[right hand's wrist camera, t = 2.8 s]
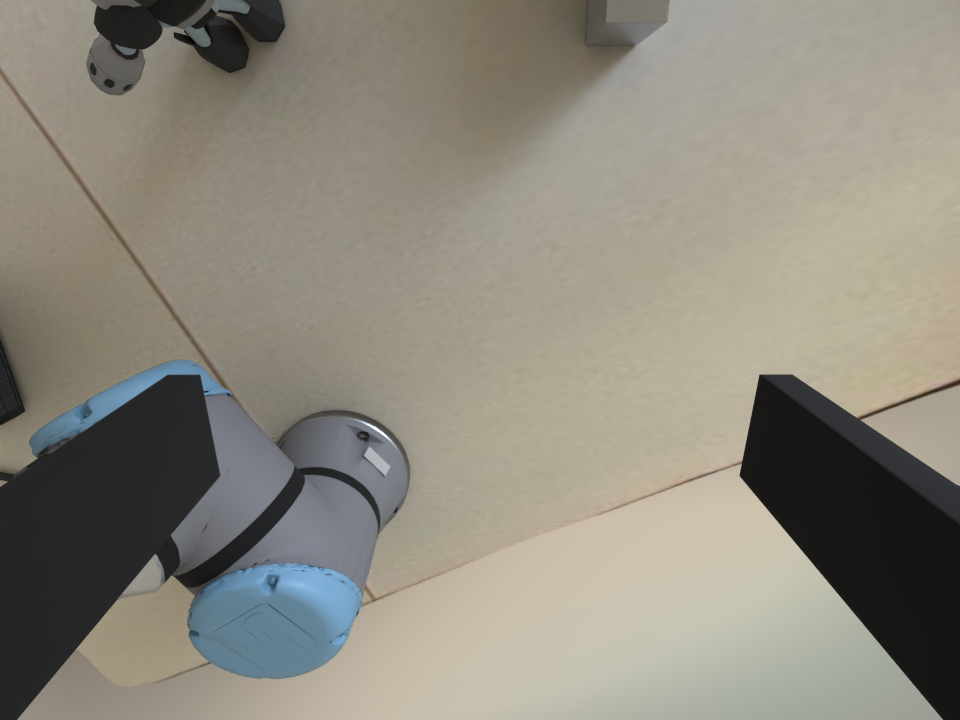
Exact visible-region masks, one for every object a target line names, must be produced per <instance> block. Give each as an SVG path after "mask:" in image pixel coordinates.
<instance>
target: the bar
mask: <svg viewBox="0 0 960 720" xmlns="http://www.w3.org/2000/svg"><path fill="white" fill-rule="evenodd" d="M669 2H670V0H588V6H587V23H586V41H585V45H638V44H639V43H640V42H642V41H643V40H644V39H645V38H647V37H648V36H649V35H651V34H652V33H653V32H655V31H656V30H657V29H659V28H660V27H661V26H663V25H664V24H665V23H666V22H667V21H668V12H669Z"/></svg>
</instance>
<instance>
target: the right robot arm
mask: <svg viewBox="0 0 960 720" xmlns="http://www.w3.org/2000/svg"><path fill="white" fill-rule="evenodd" d="M232 396H233V394H232V393H231V392H230V391H229V390H228V389H224V388H223V387H222V386H221V385H220V384H219V383H217V382H216V381H215V380H214V379H213V378H212V377H211V376H210V375H209V374H208V373H207V372H206V371H205V370H204V369H203V368H202V367H201V366H200V365H198V364H196V363H194V362H192V361H187V360H175V361H170V362H166V363H163V364H160V365H157V366H155V367H153V368H150V369H148V370H146V371H143V372H141V373H139V374H137V375H135V376H133V377H130V378H128V379H126V380H124V381H122V382H120V383H118V384H116V385H114V386H112V387H110V388H109V389H107V390H105V391H103V392H101V393H99V394H97V395H96V396H94V397H92V398H90V399H88V400H87V401H86V402H85V403H84V404H83V405H79V406H77V407H75V408H74V409H72V410H70V411H68V412H66V413H64V414H62V415H60V416H59V417H57V418H56V419H54V420H52V421H51V422H49V423H48V424H46V425H45V426H43V427H42V428H41V429H39V430H38V431H37V432H36V433H35V434H34V435H33V436H32V437H31V438H30V440H29V444H30V446H31V448H32V453H33V455H35V456H36V457H37V458H38V459H37V460H35V461H34V462H32V463H31V464H29V465H28V466H26V467H25V468H23V469H22V470H21V471H19V472H18V473H16V475H13V474H8V473H2V472H0V480H4V481H9V482H7V483H6V484H4V485H3V486H1V487H0V720H17V719H18V718H19V717H20V715H21V714H22V713H23V712H24V711H25V709H26V708H27V707H28V706H29V704H30V703H31V702H32V701H33V700H34V699H35V697H36V696H37V695H38V694H39V693H40V691H41V690H42V689H43V688H44V687H45V685H46V684H47V683H48V682H49V681H50V679H51V678H52V677H53V676H54V675H55V673H56V672H57V671H58V670H59V669H60V667H61V666H62V665H63V664H64V663H65V661H66V660H67V659H68V658H69V657H70V655H71V654H72V653H73V652H74V651H75V650H76V648H77V647H78V646H79V645H80V644H81V642H82V641H83V640H84V639H85V638H86V636H87V635H88V634H89V633H90V632H91V630H92V629H93V628H94V627H95V626H96V624H97V623H98V622H99V621H100V620H101V618H102V617H103V616H104V615H105V614H106V612H107V611H108V610H109V609H110V608H111V606H112V605H113V604H114V603H115V602H116V600H118V599H121V598H124V597H129V596H135V595H141V594H147V593H153V592H155V591H157V590H158V589H159V588H160V587H161V586H162V585H163V584H164V583H165V582H166V581H167V580H168V579H169V577H170V576H171V575H172V576H174V577H175V578H176V579H177V580H178V581H179V582H181V583H182V584H183V585H184V586H185V587H186V588H187V589H188V590H189V591H190V592H192V593H193V594H194V595H195V596H196V597H195V598H194V599H193V602H192V604H191V607H190V609H189V616H188V620H187V625H188V628H189V629H190V631H189V637H190V640H191V642H192V644H193V645H194V647H195V648H196V649H197V650H198V652H199V653H200V654H201V655H202V656H203V657H204V658H205V659H207V660H208V661H209V662H211V663H212V664H214V665H216V666H217V667H219V668H221V669H223V670H226V671H228V672H231V673H234V674H237V675H241V676H245V677H251V678H257V679H261V678H271V679H282V678H289V677H295V676H299V675H302V674H305V673H308V672H310V671H313V670H315V669H317V668H319V667H321V666H322V665H324V664H326V663H327V662H328V661H330V660H331V659H332V658H333V657H334V656H335V655H336V654H337V653H338V652H339V651H340V650H341V649H342V647H343V645H344V644H345V642H346V640H347V638H348V636H349V633H350V630H351V628H352V625H353V622H354V620H355V617H356V616H357V615H358V613H359V611H360V608H361V603H362V596H363V593H364V589H365V585H366V581H367V577H368V573H369V569H370V565H371V561H372V557H373V553H374V549H375V545H376V541H377V538H378V534H379V533H380V532H381V531H382V530H383V528H384V527H385V525H386V524H387V523H389V522H390V521H391V519H392V518H393V517H394V516H395V515H396V514H397V512H398V511H399V509H400V508H401V506H402V504H403V502H404V500H405V497H406V494H407V490H408V485H409V479H410V468H409V462H408V459H407V456H406V453H405V451H404V449H403V447H402V445H401V444H400V442H399V441H398V439H397V438H396V437H395V436H394V435H393V434H392V433H391V432H390V431H389V430H388V429H387V428H386V427H384V426H383V425H381V424H380V423H379V422H377V421H375V420H373V419H371V418H369V417H367V416H364V415H361V414H358V413H354V412H349V411H339V410H336V411H324V412H319V413H315V414H312V415H310V416H307V417H305V418H303V419H301V420H300V421H298V422H297V423H295V424H294V425H293V426H292V427H291V428H290V429H289V430H288V431H287V432H286V433H285V435H284V436H283V437H282V439H281V440H280V441H279V443H278V444H277V445H276V444H275V443H274V442H273V441H272V440H271V439H270V438H269V437H268V436H267V435H266V434H265V432H264V431H263V430H262V429H261V428H260V427H259V426H258V425H257V424H256V423H255V422H254V421H253V419H252V418H251V417H250V416H249V415H248V414H247V413H246V412H245V411H244V410H243V409H242V408H241V407H240V405H239V404H238V403H237V402H236V401H235V400H234V399H233V398H232ZM740 477H741V478H742V479H743V481H744V482H745V483H746V484H747V485H748V487H749V488H750V489H751V490H752V491H753V493H754V494H755V495H756V496H757V497H758V498H759V500H760V501H761V502H762V503H763V505H764V506H765V507H766V508H767V509H768V510H769V512H770V513H771V514H772V515H773V517H774V518H775V519H776V520H777V521H778V523H779V524H780V525H781V526H782V527H783V529H784V530H785V531H786V532H787V533H788V534H789V536H790V537H791V538H792V539H793V540H794V542H795V543H796V544H797V545H798V546H799V548H800V549H801V550H802V551H803V552H804V554H805V555H806V556H807V557H808V558H809V560H810V561H811V562H812V563H813V564H814V566H815V567H816V568H817V569H818V570H819V572H820V573H821V574H822V575H823V576H824V578H825V579H826V580H827V581H828V582H829V584H830V585H831V586H832V587H833V588H834V590H835V591H836V592H837V593H838V594H839V596H840V597H841V598H842V599H843V600H844V602H845V603H846V604H847V605H848V606H849V608H850V609H851V610H852V611H853V612H854V614H855V615H856V616H857V617H858V618H859V619H860V621H861V622H862V623H863V624H864V625H865V627H866V628H867V629H868V630H869V632H870V633H871V634H872V635H873V636H874V638H875V639H876V640H877V641H878V642H879V643H880V645H881V646H882V647H883V648H884V649H885V651H886V652H887V653H888V654H889V655H890V657H891V658H892V659H893V660H894V661H895V663H896V664H897V665H898V666H899V667H900V669H901V670H902V671H903V672H904V673H905V675H906V676H907V677H908V678H909V679H910V681H911V682H912V683H913V684H914V685H915V687H916V688H917V689H918V690H919V691H920V693H921V694H922V695H923V696H924V697H925V698H926V700H927V701H928V702H929V703H930V705H931V706H932V707H933V708H934V709H935V711H936V712H937V713H938V714H939V715H940V717H941V718H942V719H943V720H960V486H958V485H956V484H954V483H953V482H951V481H950V480H948V479H947V478H945V477H944V476H942V475H941V474H939V473H938V472H936V471H935V470H934V469H932V468H930V467H929V466H927V465H926V464H925V463H923V462H922V461H920V460H919V459H917V458H916V457H914V456H913V455H911V454H910V453H908V452H907V451H905V450H904V449H902V448H901V447H899V446H898V445H896V444H895V443H893V442H892V441H890V440H889V439H887V438H886V437H884V436H883V435H881V434H880V433H878V432H877V431H875V430H874V429H872V428H871V427H869V426H868V425H867V424H865V423H864V422H862V421H861V420H859V419H858V418H856V417H855V416H853V415H852V414H850V413H849V412H847V411H846V410H844V409H843V408H841V407H840V406H838V405H837V404H835V403H834V402H832V401H831V400H829V399H828V398H826V397H825V396H823V395H822V394H820V393H819V392H817V391H816V390H814V389H813V388H811V387H810V386H808V385H807V384H805V383H804V382H802V381H801V380H800V379H798V378H797V377H795V376H794V375H759V380H758V385H757V390H756V395H755V400H754V406H753V411H752V416H751V421H750V426H749V431H748V436H747V441H746V446H745V451H744V456H743V461H742V466H741V471H740Z"/></svg>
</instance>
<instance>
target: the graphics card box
mask: <svg viewBox="0 0 960 720" xmlns="http://www.w3.org/2000/svg"><path fill="white" fill-rule="evenodd" d="M24 412H25V408H24V406H23V403H22V400H21V398H20V395H19V392H18V389H17V386H16V383H15V381H14V378H13V376H12V372H11V369H10V366H9V363H8V361H7V358H6V355H5V352H4V349H3V347H2V344H1V341H0V425H2V424H4V423H5V422H8V421H9V420H11V419H13V418H15V417H17V416H19V415H20V414H22V413H24Z"/></svg>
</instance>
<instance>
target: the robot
mask: <svg viewBox="0 0 960 720" xmlns="http://www.w3.org/2000/svg"><path fill="white" fill-rule="evenodd" d="M91 1H93V2H94V3H95V4H96V5H97V7H96V12H95V18H94V24H95V26H96V28H97V31H98V32H99V33H100V35H99V37H98V38H96V39H95V40H94V42H93V44H92V47H91V49H90V52H89V56H88V59H87V63H86V65H87V69H88V72H89V75H90V79H91V81H92V82H93V83H94V84H95V85H96V86H97V87H98V88H99V89H100V90H101V91H103V92H105V93H107V94H110V95H122V94H124V93H126V92H128V91H130V90H131V89H133V87H134V86H135V85H136V84H137V83H138V81H139V79H140V78H141V75H142V72H143V68H144V64H145V59H144V56H143V53H142V49H146V48H148V47H150V46H151V45H152V44H154V43H155V42H156V41H157V40H158V39H159V38H160V36H161V34H162V27H172V26H176V27H179V28H181V29H184V32H185V33H186V34H187V35H189V36H187V35H183V34H179V33H175V32H174V38H176V39H178V40H179V41H181V42H184V43H187V44H189V45H192V46H194V48H195V49H196V51H197V52H198V53H199V55H200V56H201V57H202V58H204V59H205V60H207V61H208V62H210V63H212V64H214V65H215V66H217V67H219V68H221V69H223V70H225V71H227V72H229V73H231V72H234V71H237V70H240V69H242V68H245V66H246V61H247V57H248V53H249V48H248V46H247V44H246V42H245V40H244V38H243V36H242V34H241V32H240V30H239V29H238V28H237V27H236V25H235V24H234V23H233V22H232V21H230V20H227V19H224V18H221V17H219V16H217V17H215V16H216V15H217V12H220V13H226V14H232V15H233V17H234V18H235V20H236V21H237V22H238V23H239V24H240V25H241V26H242V27H243V28H244V29H245V30H246V31H247V32H248V33H249V34H250V35H251V36H252V37H253V38H254V39H256V40H257V41H258V42H276V41H277V39H278V38H279V36H280V34H281V33H282V31H283V29H284V28H285V23H284V18H283V13H282V8H281V3H280V2H279V0H91Z"/></svg>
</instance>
